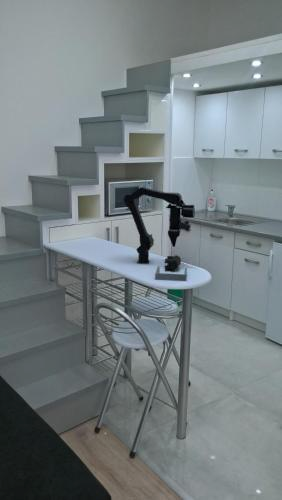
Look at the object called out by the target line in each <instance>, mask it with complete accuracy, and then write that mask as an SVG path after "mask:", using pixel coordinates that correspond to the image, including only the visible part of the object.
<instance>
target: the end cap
mask: <svg viewBox="0 0 282 500" xmlns="http://www.w3.org/2000/svg"><path fill="white" fill-rule="evenodd" d="M181 263H182V258H181V257H180V255H177V254H175V255H173V256H172V255H167V256H166V258H165V259H164V272H173V273H174V272H175V271H176V270H177V269H178V268H179V266H180V265H181ZM165 264H166V265H165Z"/></svg>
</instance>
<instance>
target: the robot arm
mask: <svg viewBox="0 0 282 500" xmlns="http://www.w3.org/2000/svg"><path fill="white" fill-rule="evenodd" d="M143 196H147V197H150V198H155V199H159V200H162V201H165V202H166V203H168V204H167V206H166V207H165V208H166V209H169V218H168V219H169V228H168V230H167V236H168V238H169V240H170V243H171V246H172V247H174V248H175V247H176V244H177V240H178V237H180V235H181V230H185V232H190V229H191V226H192V225H191V224H190V221H188V220H185V221H182V218H181V216H182V217H183V218H191V219H195V217H196V209H195V205H194V204H186V203H185V202H184V200H183V197H182V194H180V193H179V192H164V191H161V190H156V189H152V188H148V187H146V186H142V187H140V188H138V189H137V190H135V191H134V192H132V193H128V194H125V195H124V197H123V202H124V205H125V206H126V208H127V209H128V210H129V211H130V214H131V215H132V218H133V221H134V224H135V228H136V230H137V232H138V235H139V246H138V247H137V248H136V249H135V250H136V251H137V254H138V256H137V257H138V260H137V262H136V264H147V265H148V264H150V262H151V260H150V259H149V257H150V255H149V254H150V253H149V251H150V250H151V248H153V246H154V244H155V243H154V241H155V239H154V238H153V234H149V233H148V231H147V228H146V225H145V223H144V220H143V217H142V215H141V211H140V210H139V200H138V199H140V198H141V197H143Z"/></svg>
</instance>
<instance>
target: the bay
mask: <svg viewBox="0 0 282 500" xmlns="http://www.w3.org/2000/svg"><path fill="white" fill-rule="evenodd" d="M187 273H188V267H184V273H164V272H160V266H157V268H156V270H155V274H154V280H155V281H156V280H158V281H159V280H160V281H179V282H186V281H187V275H188V274H187Z"/></svg>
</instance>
